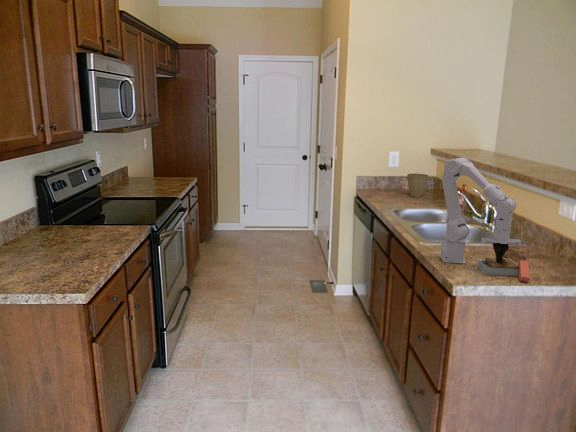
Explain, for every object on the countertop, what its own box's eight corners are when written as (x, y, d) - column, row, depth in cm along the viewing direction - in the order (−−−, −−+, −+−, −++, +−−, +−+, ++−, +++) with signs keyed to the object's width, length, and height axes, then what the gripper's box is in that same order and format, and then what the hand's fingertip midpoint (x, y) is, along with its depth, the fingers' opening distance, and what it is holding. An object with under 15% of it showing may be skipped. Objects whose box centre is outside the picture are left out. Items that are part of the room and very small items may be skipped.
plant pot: (430, 197, 330) (432, 175, 326) (413, 198, 326) (414, 176, 322) (419, 193, 344) (420, 172, 340) (401, 194, 340) (403, 173, 336)
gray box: (484, 274, 181) (485, 267, 180) (477, 266, 190) (478, 259, 189) (521, 276, 179) (522, 269, 178) (513, 268, 188) (514, 262, 187)
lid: (491, 267, 180) (492, 261, 179) (485, 260, 188) (486, 254, 188) (518, 269, 179) (519, 263, 178) (510, 261, 187) (511, 255, 187)
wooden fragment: (489, 246, 218) (489, 244, 218) (512, 247, 217) (513, 245, 217) (512, 265, 193) (512, 263, 193) (538, 266, 192) (539, 264, 192)
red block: (519, 280, 175) (521, 276, 173) (518, 264, 180) (519, 259, 179) (527, 282, 174) (529, 277, 172) (526, 265, 180) (528, 261, 178)
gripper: (486, 230, 177) (482, 263, 180) (525, 232, 175) (520, 265, 178) (481, 225, 183) (477, 257, 187) (519, 227, 182) (514, 259, 185)
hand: (498, 261), depth 183 cm, fingers closed
